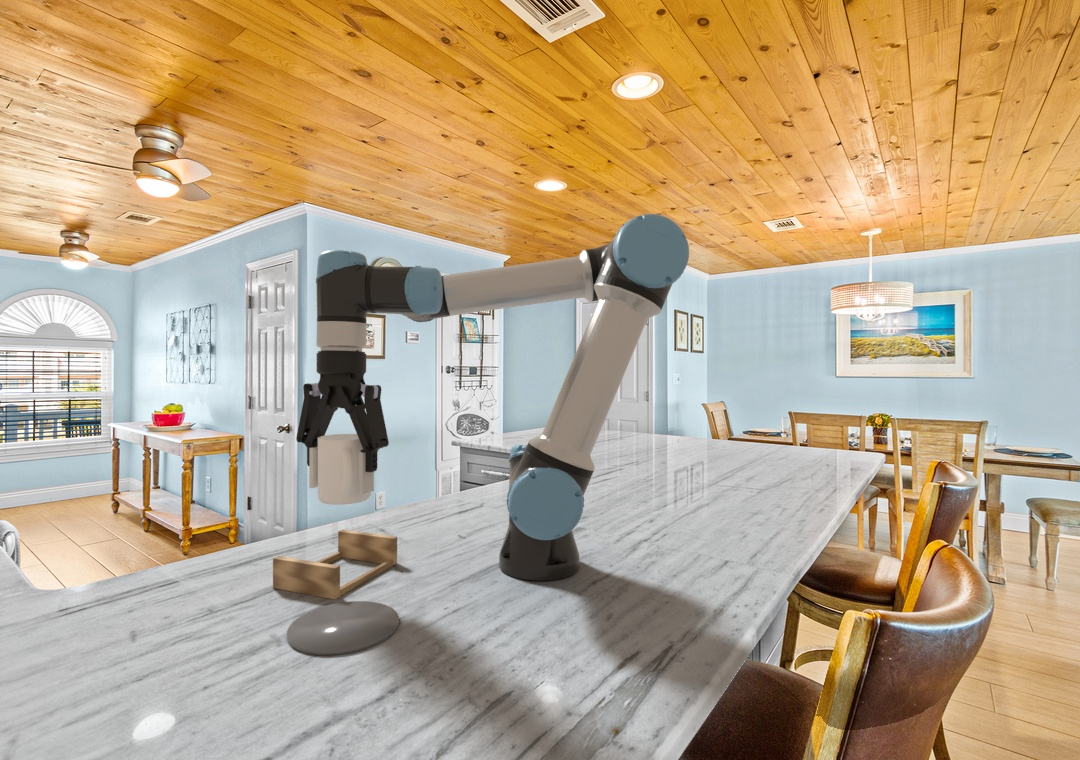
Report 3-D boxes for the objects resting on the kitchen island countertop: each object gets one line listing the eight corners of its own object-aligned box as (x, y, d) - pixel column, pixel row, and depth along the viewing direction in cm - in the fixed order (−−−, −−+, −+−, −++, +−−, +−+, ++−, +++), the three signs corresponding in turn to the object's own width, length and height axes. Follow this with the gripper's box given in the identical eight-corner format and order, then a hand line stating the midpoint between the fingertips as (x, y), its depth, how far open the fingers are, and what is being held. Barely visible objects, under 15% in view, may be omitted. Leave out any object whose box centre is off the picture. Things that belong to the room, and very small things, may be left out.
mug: (375, 508, 85) (375, 441, 84) (317, 513, 81) (317, 444, 81) (369, 491, 96) (369, 432, 95) (317, 495, 93) (317, 434, 92)
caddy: (397, 563, 104) (397, 536, 104) (334, 599, 88) (335, 568, 88) (342, 554, 109) (342, 529, 108) (272, 588, 92) (273, 558, 92)
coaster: (418, 614, 83) (418, 610, 83) (354, 664, 69) (354, 659, 69) (336, 599, 88) (336, 595, 88) (261, 643, 74) (261, 638, 74)
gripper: (413, 350, 88) (412, 490, 88) (307, 350, 96) (306, 478, 96) (383, 349, 81) (382, 501, 81) (271, 349, 89) (271, 487, 89)
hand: (341, 489), depth 89 cm, fingers closed on mug, 9 cm apart
